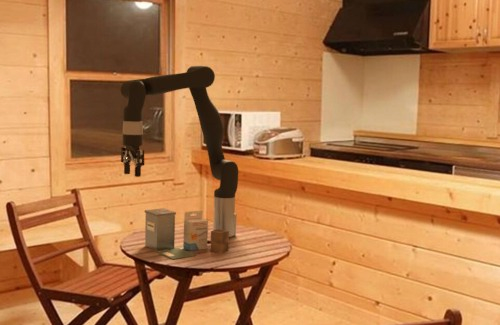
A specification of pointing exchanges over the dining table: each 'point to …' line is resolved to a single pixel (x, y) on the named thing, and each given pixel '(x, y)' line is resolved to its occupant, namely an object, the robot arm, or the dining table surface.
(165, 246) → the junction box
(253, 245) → the dining table surface
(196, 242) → the ink box
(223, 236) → the walnut block
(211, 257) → the dining table surface
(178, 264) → the dining table surface
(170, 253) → the pad
